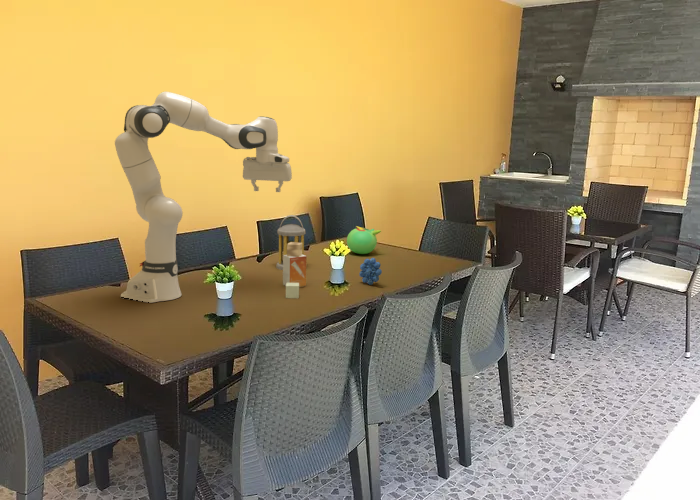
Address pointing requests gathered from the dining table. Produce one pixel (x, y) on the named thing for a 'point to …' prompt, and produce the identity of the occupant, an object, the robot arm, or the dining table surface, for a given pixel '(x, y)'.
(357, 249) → the green round piece
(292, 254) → the beech cube
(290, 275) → the small box
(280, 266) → the lantern
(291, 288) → the sage cube
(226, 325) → the dining table surface
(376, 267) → the grapes
